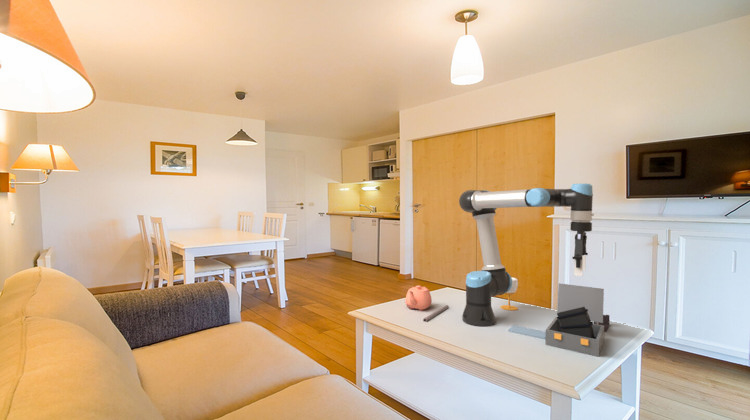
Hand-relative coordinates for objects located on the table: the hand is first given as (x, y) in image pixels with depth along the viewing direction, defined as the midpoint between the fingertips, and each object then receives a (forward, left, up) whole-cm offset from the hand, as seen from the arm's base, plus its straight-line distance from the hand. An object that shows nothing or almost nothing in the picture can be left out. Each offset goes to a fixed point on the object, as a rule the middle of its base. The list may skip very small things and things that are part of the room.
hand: (580, 273), depth 141 cm
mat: (-19, -3, -28) cm, 34 cm away
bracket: (+5, +24, -29) cm, 38 cm away
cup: (-37, +29, -28) cm, 55 cm away
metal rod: (-63, -5, -29) cm, 70 cm away
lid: (-1, +9, -14) cm, 17 cm away
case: (-1, -1, -28) cm, 28 cm away
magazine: (-1, -3, -28) cm, 28 cm away
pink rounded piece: (-76, -2, -28) cm, 81 cm away
